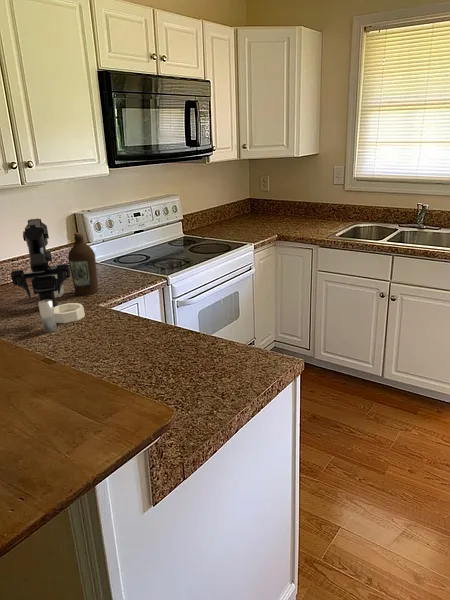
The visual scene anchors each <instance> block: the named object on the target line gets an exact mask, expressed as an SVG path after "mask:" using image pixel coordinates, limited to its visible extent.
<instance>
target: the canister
mask: <svg viewBox="0 0 450 600" xmlns="http://www.w3.org/2000/svg"><path fill="white" fill-rule="evenodd" d="M37 303H38V309H39V315H40V320H41V325H42V326H41V327H42V329H43V332H44V333H52V332H55V331H57V330H58V326H57V325H58V324H57V323H56V319H55V313H54V307H53V302H52V300H50V299H47V300H42V301H38V302H37Z"/></svg>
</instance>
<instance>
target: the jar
mask: <svg viewBox="0 0 450 600" xmlns="http://www.w3.org/2000/svg"><path fill="white" fill-rule="evenodd" d="M49 267H50V268H51V270H52V269H57V265H49ZM53 276H54V275H53ZM55 277H56V279H57V275H55ZM63 284H64V283H63ZM63 284H62V286H61V290H60V294H58V290H57V291H54V296H55V299H56V298H57V297H58V298H61V297H63V295H64V294H65V290H64V285H63Z"/></svg>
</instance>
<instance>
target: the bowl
mask: <svg viewBox="0 0 450 600" xmlns="http://www.w3.org/2000/svg"><path fill="white" fill-rule="evenodd" d="M54 313H55V319H56V324H67V323H72V322H78V321H79V320H81V319H83V318H84V317H86V315H85V308H84V306H83V304H82V303H79V302H78V303H76V302H75V303H73V302H68V303H63V304H58V306H55V307H54Z"/></svg>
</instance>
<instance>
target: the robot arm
mask: <svg viewBox="0 0 450 600" xmlns="http://www.w3.org/2000/svg"><path fill="white" fill-rule="evenodd" d="M22 238H23V242H26V245H27V247H28V248H27V249H28V254H29V266H30V270H31V271H29V272H25V271H24V268H23V269H14V270H11V271H10V278H11V281H12V284H13V286H17V287H18V288H20V287H21V288H22V289H23V290H24V292H25V293H26V295H27V296H28V297H29V299H32V297H31V296H32V295H31V292H30V291H31V290H30V289H29V285H28V282H27V280H28V279H30V280H31V286H32V291H33V294H34V295H38V300H39V301H42V300H47V299H50V300H52V302H53V307H55V306H58V305H59V304H58V303H57V301H56V298H55V296H54V291H57V290H58V294H60V290H61V286H62V284H64V282H65V281H67V279H69V278H71V269H70V264H68V263H61V264H56V266H57V269H52V270H51V268H50V267H49V266H50V265H49V262H52V261H53V259H52V252H51V250H47V245H48V244H49V242H48V241H49V240H48V239H50V237H49V231H48V227H47V224H45V223H43V222H42V219H41V218H30V219H28V220H27V225H26V226H25V227H24V231H23V232H22ZM53 275H54V276H53ZM55 275H57V279H56V277H55ZM39 301H38V302H39Z"/></svg>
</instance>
